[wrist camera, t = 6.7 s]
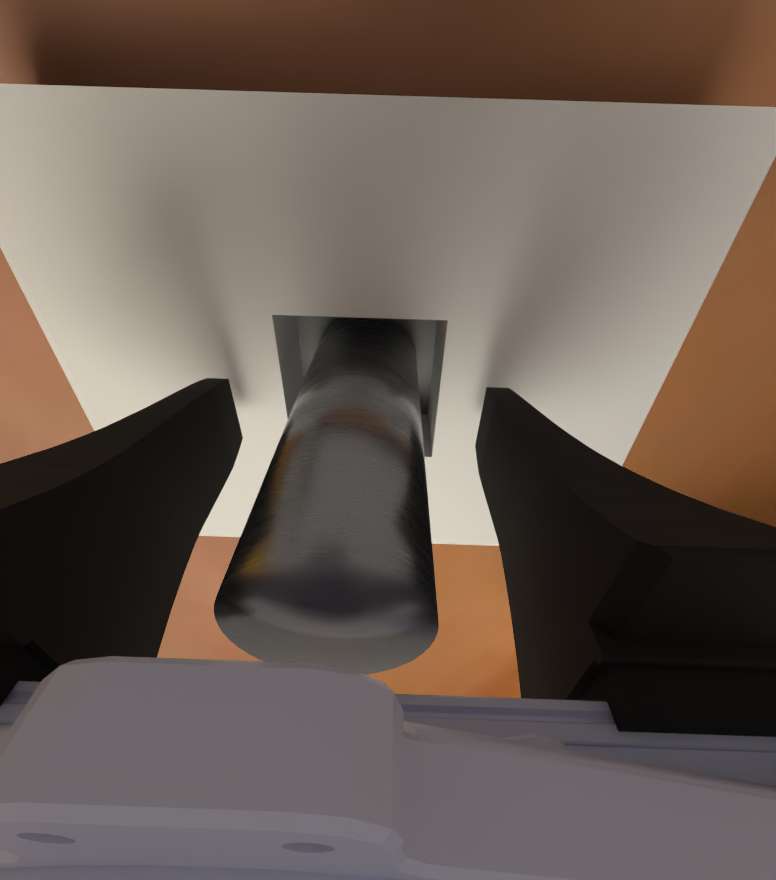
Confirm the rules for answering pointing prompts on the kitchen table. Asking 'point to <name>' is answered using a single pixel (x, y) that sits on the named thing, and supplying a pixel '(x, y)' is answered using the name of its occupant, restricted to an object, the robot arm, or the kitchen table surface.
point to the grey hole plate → (372, 253)
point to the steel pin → (341, 516)
